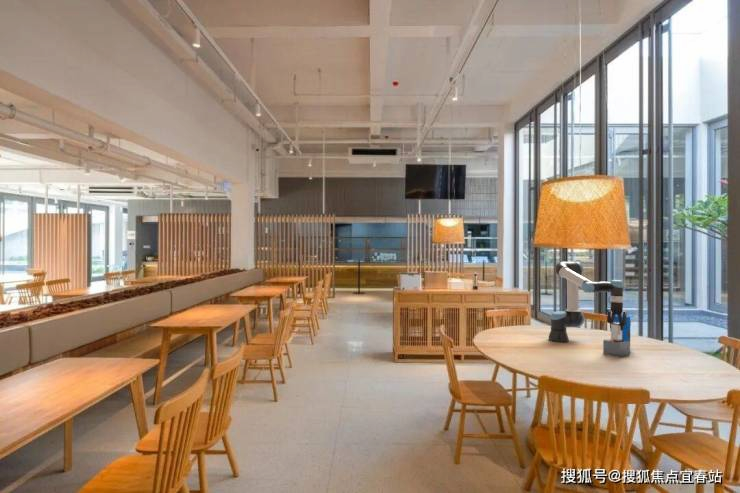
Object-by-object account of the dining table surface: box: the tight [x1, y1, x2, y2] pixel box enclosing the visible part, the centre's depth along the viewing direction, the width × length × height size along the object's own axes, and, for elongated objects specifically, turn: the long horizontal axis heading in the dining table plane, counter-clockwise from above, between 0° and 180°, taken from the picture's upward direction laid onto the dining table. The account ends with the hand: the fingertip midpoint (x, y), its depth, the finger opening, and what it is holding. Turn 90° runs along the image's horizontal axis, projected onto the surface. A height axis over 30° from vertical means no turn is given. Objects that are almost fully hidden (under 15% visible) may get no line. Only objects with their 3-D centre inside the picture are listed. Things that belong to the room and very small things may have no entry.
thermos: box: [614, 314, 631, 342], centre depth 313 cm, size 11×11×25 cm
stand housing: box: [602, 337, 631, 358], centre depth 298 cm, size 12×12×11 cm
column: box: [610, 322, 622, 342], centre depth 298 cm, size 5×6×22 cm
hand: (616, 333), depth 298 cm, fingers closed on column, 5 cm apart
